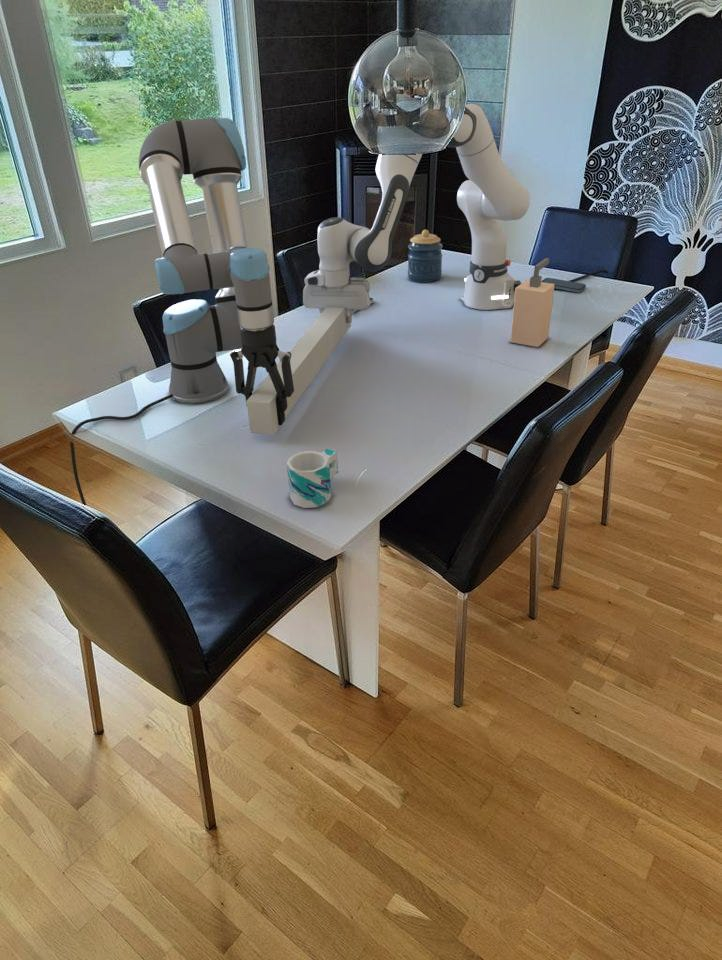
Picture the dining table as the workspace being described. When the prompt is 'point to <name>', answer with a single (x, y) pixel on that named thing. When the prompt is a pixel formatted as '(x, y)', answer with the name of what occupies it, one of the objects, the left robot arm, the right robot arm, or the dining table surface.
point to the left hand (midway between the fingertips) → (268, 421)
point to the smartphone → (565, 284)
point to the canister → (425, 257)
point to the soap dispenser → (532, 309)
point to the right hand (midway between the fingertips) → (337, 322)
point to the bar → (298, 368)
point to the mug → (311, 477)
